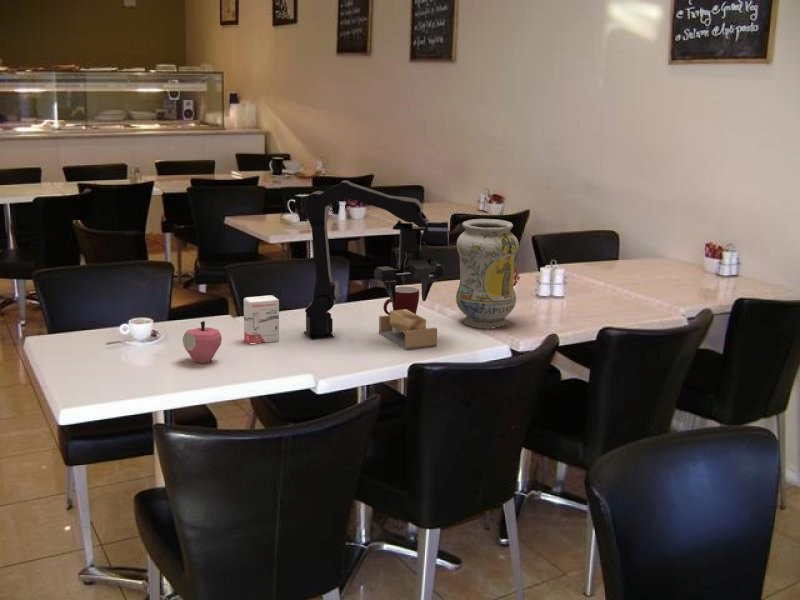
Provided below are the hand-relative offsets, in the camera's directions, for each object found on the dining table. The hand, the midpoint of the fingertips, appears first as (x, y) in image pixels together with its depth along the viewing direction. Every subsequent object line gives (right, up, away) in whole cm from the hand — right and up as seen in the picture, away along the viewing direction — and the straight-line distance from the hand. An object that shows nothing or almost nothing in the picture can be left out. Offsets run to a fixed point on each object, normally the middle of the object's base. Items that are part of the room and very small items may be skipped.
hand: (408, 302), depth 244 cm
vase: (+22, -6, +21) cm, 32 cm away
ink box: (-40, -10, -1) cm, 41 cm away
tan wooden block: (0, -7, +2) cm, 8 cm away
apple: (-52, -15, -20) cm, 57 cm away
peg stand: (0, -10, +3) cm, 11 cm away
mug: (-2, -6, +19) cm, 20 cm away
